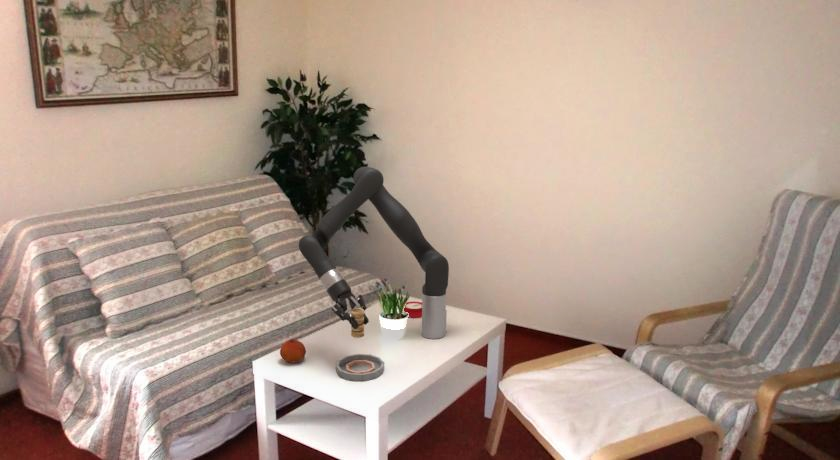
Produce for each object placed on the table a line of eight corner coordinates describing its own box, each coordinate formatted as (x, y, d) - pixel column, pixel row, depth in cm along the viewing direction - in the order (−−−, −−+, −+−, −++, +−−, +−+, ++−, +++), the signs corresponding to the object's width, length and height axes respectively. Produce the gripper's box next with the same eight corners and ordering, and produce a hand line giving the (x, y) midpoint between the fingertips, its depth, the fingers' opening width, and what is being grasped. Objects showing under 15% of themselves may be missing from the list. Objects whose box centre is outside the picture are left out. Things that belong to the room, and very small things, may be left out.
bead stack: (357, 331, 228) (356, 307, 226) (366, 334, 225) (366, 310, 223) (348, 335, 224) (348, 310, 222) (358, 338, 222) (358, 313, 220)
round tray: (357, 356, 236) (357, 350, 236) (392, 368, 227) (392, 361, 227) (327, 372, 224) (327, 366, 223) (363, 385, 215) (363, 378, 214)
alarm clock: (396, 303, 280) (428, 292, 284) (399, 316, 282) (431, 305, 286) (402, 311, 271) (436, 300, 274) (406, 325, 273) (439, 314, 276)
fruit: (291, 368, 226) (290, 347, 224) (275, 361, 232) (274, 340, 230) (311, 360, 233) (310, 339, 231) (296, 353, 238) (295, 333, 237)
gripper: (326, 284, 219) (354, 326, 215) (354, 273, 230) (381, 313, 226) (315, 295, 223) (342, 337, 219) (343, 285, 234) (369, 324, 230)
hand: (362, 325), depth 223 cm, fingers closed on bead stack, 4 cm apart
